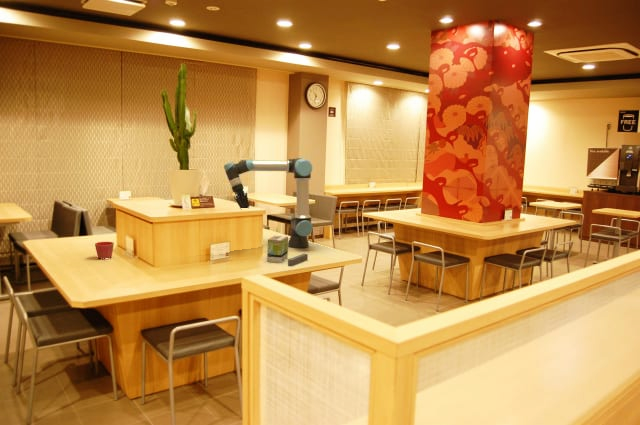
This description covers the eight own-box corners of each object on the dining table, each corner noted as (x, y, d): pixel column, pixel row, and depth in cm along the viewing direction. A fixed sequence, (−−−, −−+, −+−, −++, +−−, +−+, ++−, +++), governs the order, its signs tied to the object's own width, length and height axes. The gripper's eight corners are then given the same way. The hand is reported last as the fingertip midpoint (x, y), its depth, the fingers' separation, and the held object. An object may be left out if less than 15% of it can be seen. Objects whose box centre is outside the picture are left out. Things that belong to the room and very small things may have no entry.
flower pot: (114, 259, 318) (113, 244, 316) (95, 260, 314) (94, 245, 312) (114, 255, 327) (113, 241, 326) (95, 256, 323) (95, 242, 322)
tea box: (281, 263, 319) (282, 240, 317) (266, 262, 321) (266, 239, 318) (288, 257, 333) (288, 235, 331) (273, 256, 335) (273, 235, 333)
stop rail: (303, 259, 329) (303, 253, 329) (307, 260, 328) (307, 254, 328) (287, 265, 312) (287, 259, 311) (292, 266, 310) (292, 260, 310)
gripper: (237, 185, 346) (250, 217, 347) (226, 188, 334) (239, 221, 335) (246, 181, 342) (258, 214, 343) (235, 184, 331) (248, 218, 331)
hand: (249, 217), depth 339 cm, fingers closed
